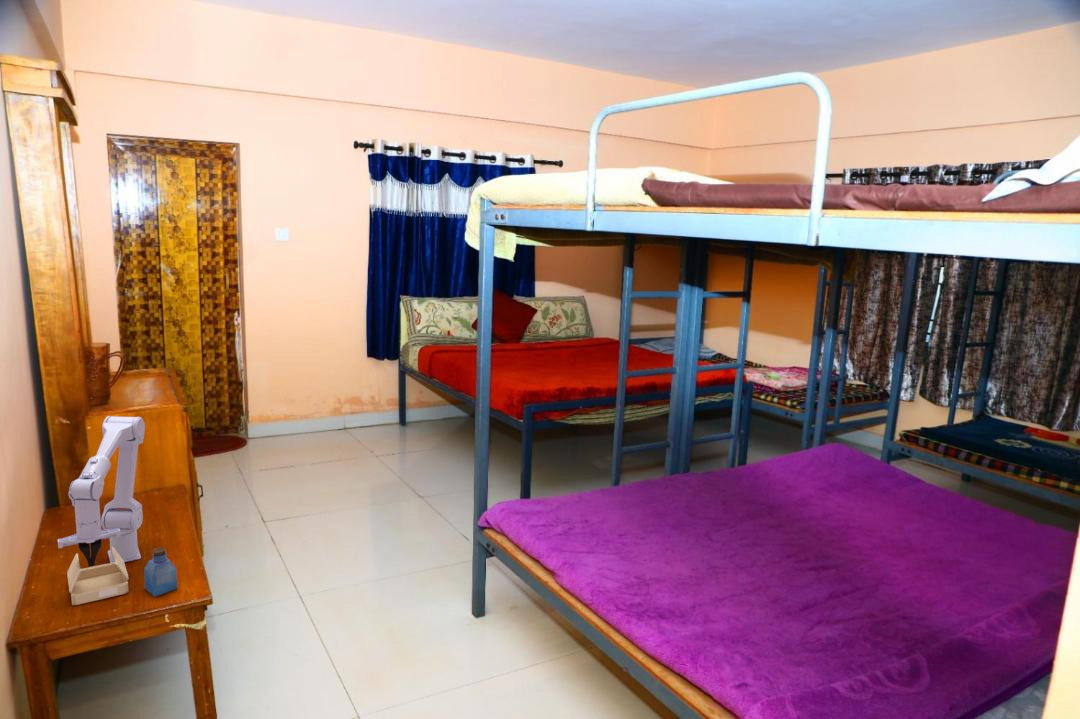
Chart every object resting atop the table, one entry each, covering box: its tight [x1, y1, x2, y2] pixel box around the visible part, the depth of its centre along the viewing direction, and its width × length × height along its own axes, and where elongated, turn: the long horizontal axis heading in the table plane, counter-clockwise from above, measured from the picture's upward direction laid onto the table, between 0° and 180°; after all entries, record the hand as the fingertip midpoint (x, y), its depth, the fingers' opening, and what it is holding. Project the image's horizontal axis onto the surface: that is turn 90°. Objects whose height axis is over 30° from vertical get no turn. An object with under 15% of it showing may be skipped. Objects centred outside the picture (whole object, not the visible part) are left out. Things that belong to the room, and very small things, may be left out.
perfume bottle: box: [143, 546, 178, 598], centre depth 197 cm, size 6×6×12 cm
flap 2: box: [112, 546, 130, 581], centre depth 198 cm, size 12×1×6 cm, turn 36°
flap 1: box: [66, 553, 81, 593], centre depth 192 cm, size 12×1×6 cm, turn 36°
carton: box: [70, 562, 129, 606], centre depth 196 cm, size 15×13×3 cm
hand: (91, 565), depth 194 cm, fingers closed
